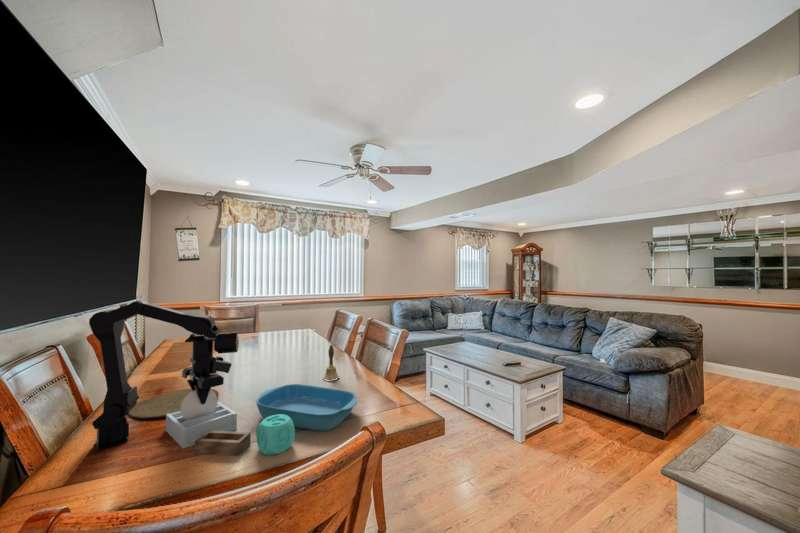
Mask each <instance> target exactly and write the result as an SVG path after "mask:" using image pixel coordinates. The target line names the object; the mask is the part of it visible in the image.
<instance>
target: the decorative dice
mask: <svg viewBox="0 0 800 533" xmlns="http://www.w3.org/2000/svg"><path fill="white" fill-rule="evenodd" d="M295 428H296V427H295V426H294V424H293V421H292V419H291V418H290V417H289V416H287V415H283V414H278V415H272V416H269V417H267V418H265V419H264V418H263V419H262V421H261V422H259V424H258V426H257V428H256V433H255V438H256V443H257V447H258V449H259V451H260V452H261V453H262V454H264V455H266V456H273V455H279V454H282V453H284V452H285V451H286V452H287V450H288V449H289V448H290V447H291V446H292V445H293V442H294V440H295V437H296V429H295Z"/></svg>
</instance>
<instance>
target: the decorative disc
mask: <svg viewBox="0 0 800 533" xmlns="http://www.w3.org/2000/svg"><path fill="white" fill-rule="evenodd" d="M210 390H211V391H212V392H214V393H215V394H216V396H217V398H218V397H219V395H220V394H219V391H218V390H216V389H214V388H211V389H210ZM190 392H192V389H191V388H187V389H181V390H176V391H172V392H167V393H163V394H159V395H157V396H153V397H151V398H148V399H146V400H143V401H140V402H137V403H136V405H135V406H134V408H133V409H132V410H130V411H129V413H128V416H130V417H131V418H134V419H137V420H138V419H139V420H149V419H161V418H166V414H169V413H170V414H172V413H175V412H179V411H180V406H181V403H182V401H183V399H184V398H185V397H186V396H187V395H188V394H189V393H190Z"/></svg>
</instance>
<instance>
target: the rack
mask: <svg viewBox="0 0 800 533" xmlns="http://www.w3.org/2000/svg"><path fill="white" fill-rule="evenodd" d="M237 422H238V413H237V412H236V411H234V410H232V409H231V408H229V407H228V406H226V405H225V404H223V402H222V403H221V402H220V401H218V403H217V407H216V409H215V411H214V412H213V413H210V414H207V415H204V416H201V417H197V418H194V419H191V420H188V421H187V420H186V419H185V418H183V417H182V415H181V413H180V411H179V412H175V413H172V414H170V413H169V414H166V417H165V431H166V433H168V435H169V436H170V437H171V438H172V439H173V440H174V441H175V442H176V443H177V445H179V446H180V448H182V449H183V450H184V449H187V448H189V447H192V446H195V440H197V439H198V438H200V437H201V436H202V435H204V434H205V433H206V432H208V431H209V430H213V431H236V430H237V428H238V427H237V426H238V423H237Z"/></svg>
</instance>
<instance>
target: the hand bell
mask: <svg viewBox="0 0 800 533" xmlns="http://www.w3.org/2000/svg"><path fill="white" fill-rule="evenodd" d="M334 355H335V350H334V346H333V345H331V344H330V345H329V348H328V358H329V363H328V364H329V365H328V366H327V367H326V371H325V374H324V376H323V377H322V379H323V378H324V379H327V380H332V379H336V378H338V377H340V375H339V374H338V372H337V367H336V366H335V365H334V359H333V358H334ZM338 375H339V376H338Z"/></svg>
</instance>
